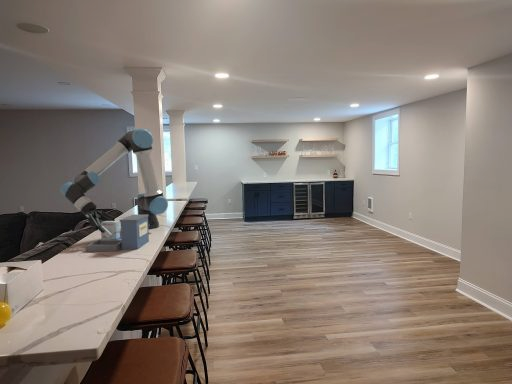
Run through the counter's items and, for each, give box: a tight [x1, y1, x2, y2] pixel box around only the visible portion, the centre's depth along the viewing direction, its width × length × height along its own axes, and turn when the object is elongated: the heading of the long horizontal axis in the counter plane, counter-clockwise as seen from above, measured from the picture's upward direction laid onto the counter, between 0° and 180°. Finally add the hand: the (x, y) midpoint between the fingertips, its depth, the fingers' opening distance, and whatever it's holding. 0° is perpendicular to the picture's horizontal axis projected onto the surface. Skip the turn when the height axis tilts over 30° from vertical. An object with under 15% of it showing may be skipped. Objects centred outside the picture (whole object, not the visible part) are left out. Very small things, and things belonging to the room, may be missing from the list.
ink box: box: [100, 220, 121, 240], centre depth 173 cm, size 9×5×12 cm, turn 84°
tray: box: [86, 239, 122, 252], centre depth 161 cm, size 11×15×3 cm
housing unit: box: [119, 214, 150, 250], centre depth 166 cm, size 17×9×15 cm, turn 179°
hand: (115, 233), depth 173 cm, fingers open, 12 cm apart
